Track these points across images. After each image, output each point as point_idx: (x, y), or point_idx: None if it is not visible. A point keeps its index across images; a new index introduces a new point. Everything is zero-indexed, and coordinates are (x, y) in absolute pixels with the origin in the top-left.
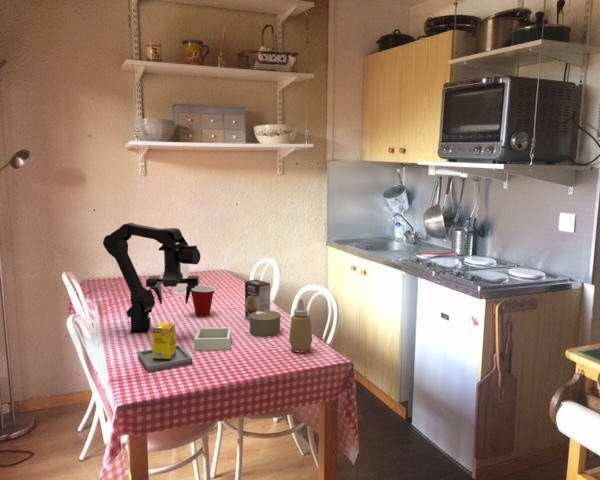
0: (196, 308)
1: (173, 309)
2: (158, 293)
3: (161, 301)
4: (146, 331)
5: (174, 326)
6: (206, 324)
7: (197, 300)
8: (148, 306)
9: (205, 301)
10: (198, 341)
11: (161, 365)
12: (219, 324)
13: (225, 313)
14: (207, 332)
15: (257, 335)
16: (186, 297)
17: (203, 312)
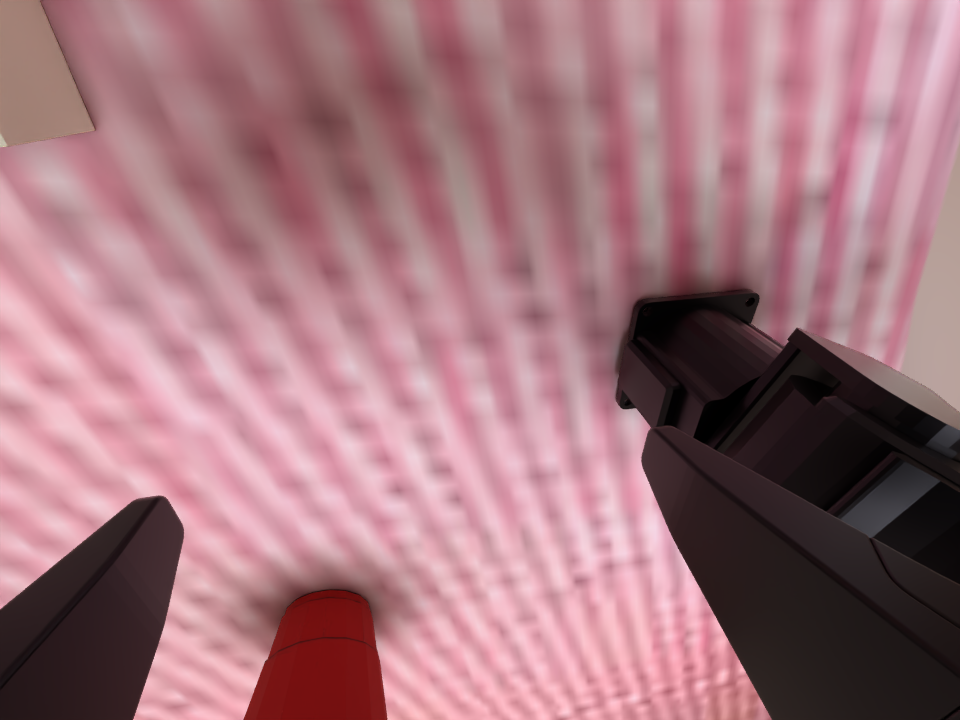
0: (351, 642)
1: (515, 637)
2: (930, 620)
3: (678, 466)
4: (644, 303)
5: None
6: (222, 488)
7: (331, 711)
8: (770, 455)
9: (267, 713)
10: None
11: None
12: (110, 498)
13: (188, 649)
14: None
15: None
16: (4, 644)
17: (304, 619)
